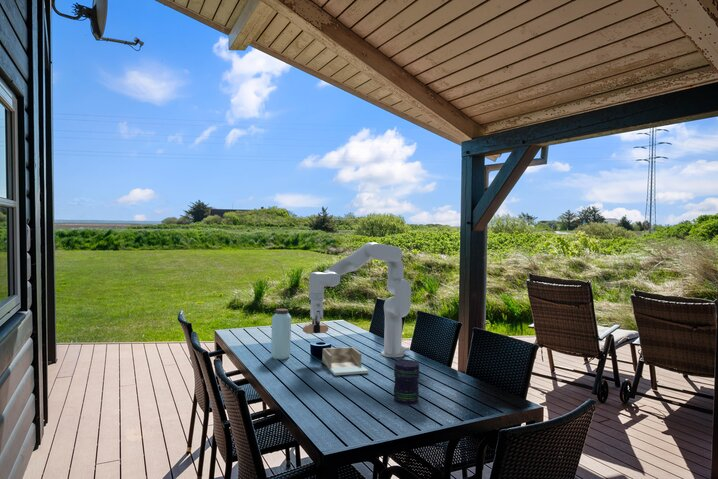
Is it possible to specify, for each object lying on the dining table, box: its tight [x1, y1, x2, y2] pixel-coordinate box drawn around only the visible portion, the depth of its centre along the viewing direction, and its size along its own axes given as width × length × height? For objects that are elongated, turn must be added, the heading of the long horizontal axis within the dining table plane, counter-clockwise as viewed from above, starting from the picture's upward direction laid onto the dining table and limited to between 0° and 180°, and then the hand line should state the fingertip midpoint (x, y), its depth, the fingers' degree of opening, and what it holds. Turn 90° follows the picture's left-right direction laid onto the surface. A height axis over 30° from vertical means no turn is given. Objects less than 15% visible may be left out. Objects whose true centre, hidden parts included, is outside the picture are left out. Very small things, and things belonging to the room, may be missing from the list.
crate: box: [321, 346, 362, 371], centre depth 223 cm, size 16×14×7 cm
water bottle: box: [270, 308, 292, 360], centre depth 234 cm, size 10×10×25 cm
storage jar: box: [393, 355, 420, 406], centre depth 176 cm, size 10×10×18 cm
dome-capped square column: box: [302, 323, 329, 335], centre depth 229 cm, size 13×4×4 cm, turn 107°
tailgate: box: [329, 365, 369, 376], centre depth 211 cm, size 16×1×9 cm
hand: (315, 331), depth 229 cm, fingers closed on dome-capped square column, 4 cm apart
